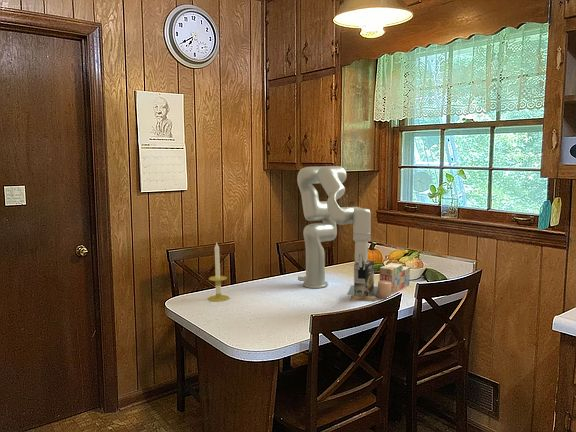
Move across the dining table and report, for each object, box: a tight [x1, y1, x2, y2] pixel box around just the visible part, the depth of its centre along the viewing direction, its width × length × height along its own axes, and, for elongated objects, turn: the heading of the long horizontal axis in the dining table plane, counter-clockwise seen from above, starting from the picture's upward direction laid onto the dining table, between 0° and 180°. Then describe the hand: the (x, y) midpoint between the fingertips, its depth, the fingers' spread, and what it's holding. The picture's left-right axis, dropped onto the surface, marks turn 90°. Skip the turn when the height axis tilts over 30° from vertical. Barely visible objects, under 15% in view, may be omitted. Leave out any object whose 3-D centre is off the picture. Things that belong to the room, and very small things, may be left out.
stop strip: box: [350, 295, 376, 302], centre depth 218 cm, size 11×1×2 cm, turn 76°
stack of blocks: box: [379, 262, 411, 295], centre depth 234 cm, size 21×6×12 cm, turn 143°
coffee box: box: [353, 260, 375, 297], centre depth 222 cm, size 9×6×16 cm
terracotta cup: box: [376, 279, 392, 300], centre depth 221 cm, size 6×6×7 cm
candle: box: [207, 242, 230, 303], centre depth 223 cm, size 10×10×27 cm
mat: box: [347, 284, 378, 297], centre depth 233 cm, size 16×16×1 cm
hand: (361, 278), depth 212 cm, fingers closed
